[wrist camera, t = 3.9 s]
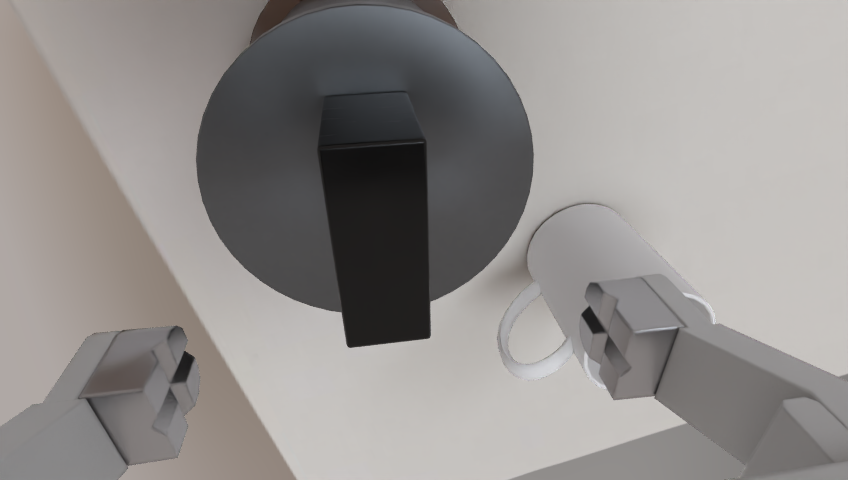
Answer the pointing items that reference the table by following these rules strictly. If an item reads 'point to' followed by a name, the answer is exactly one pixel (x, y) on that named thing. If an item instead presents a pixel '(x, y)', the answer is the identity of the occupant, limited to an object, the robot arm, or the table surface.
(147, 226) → the table surface
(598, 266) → the mug
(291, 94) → the bin
